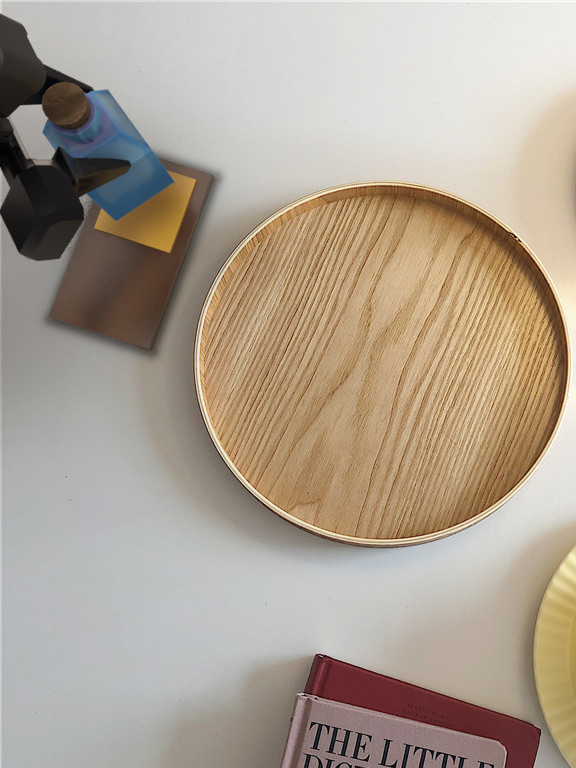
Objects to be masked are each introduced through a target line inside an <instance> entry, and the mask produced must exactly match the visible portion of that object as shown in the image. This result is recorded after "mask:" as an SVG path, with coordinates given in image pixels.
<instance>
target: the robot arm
mask: <svg viewBox="0 0 576 768" xmlns="http://www.w3.org/2000/svg"><path fill="white" fill-rule="evenodd" d="M28 35H29V34H28V31H27V29H26V27H25V26H24V25H23V24H22V22H20V21H17V20H15V19H13V18H11V17H8V16H7V15H4V14H2V13H0V171H1V172H2V174H3V175H2V176H3V177H4V178H5V180H6V182H7V185H8V188H9V189H8V192H7V194H6V195H5V198H4V199H3V201H2V203H1V206H0V217H1V219H2V221H3V223H4V225H5V227H6V229H7V231H8V234H9V235H10V238H11V240H12V242H13V244H14V246H15V248H16V250H17V252H18V254H20V255H21V256H23V257H24V258H26V259H28V260H30V261H34V262H44V261H54V260H60V259H61V257H62V256H63V254H64V253H65V251H66V250H67V248H68V247H69V244H70V243H71V241H72V240H73V238H74V237H75V236H76V234H77V232H78V231H79V229H80V228H81V226H82V224H84V222H85V207H84V204H83V203H82V201H81V200H80V198H81V197H84V196H85V195H87V193H88V192H91V191H92V190H94V189H96V188H98V187H100V186H102V185H104V184H106V183H108V182H110V181H112V180H114V179H116V178H118V177H120V176H121V175H123V174H125V173H127V172H128V171H129V169H130V168H131V166H132V165H131V163H130V161H128V160H122V159H115V158H73V157H71V156H70V155H69V154H68V153H67V152H66V151H65V150H64V149H63V148H61V147H59V146H58V148H57V149H56V151H55V150H54V153H53V155H52V157H51V159H37V158H33V157H30V155H29V153H28V151H27V149H26V147H25V145H24V143H23V140H22V139H21V137H20V135H19V132H18V131H17V128H16V125H15V124H14V122H13V121H12V118H11V115H12V114H13V113H15V111H16V110H17V109H18V108H19V107H20V106H39V105H41V106H42V99H43V96H44V94H45V92H46V91H47V90H48V89H49V88H50V87H51V86H53V85H55V84H57V83H61V82H68V83H73V84H75V85H77V86H79V87H80V88H81V89H82V90H83V92H84V93H86V94H88V93H89V92H91V91H95V89H94V87H93V86H91V85H88V84H87V83H85V82H82V81H81V80H78V79H77V78H74V77H72V76H70V75H68V74H65V73H64V72H61V71H59V70H57V69H55V68H53V67H51V66H48V65H47V64H45V63H43V61H42V60H41V59H40V58H39V57H38V55H37V53H36V52H35V50H34V47H33V45H32V44H31V41H30V39H29V37H28Z"/></svg>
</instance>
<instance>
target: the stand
mask: <svg viewBox="0 0 576 768" xmlns="http://www.w3.org/2000/svg"><path fill="white" fill-rule="evenodd" d="M157 158H158V159H159V161H160V162H161V163H162V165H163V166H164V168H165V169H166V170H167V172H168V173H169V175H170V176H171V177H172V179H173V180H174V183H173V184H171V185H170V186H168V187H167V188H165V189H164V190H162V191H161V192H159V193H158V194H156V195H155V196H153V197H152V198H150V199H149V200H147V201H146V202H144V203H143V204H141V205H140V206H138V207H137V208H135V209H134V210H132V211H131V212H129V213H128V214H126V215H125V216H124V217H122V218H121V219H119V220H118V221H115V220H114V219H113V218H112V217H111V216H109V215H108V214H107V213H106V212H105V211H104V210H103V209H102V208H101V207H100V206H99V205H98V204H97V203H95V202H94V201H93V200H92V203H91V204H90V206H89V210H88V213H87V215H86V217H85V219H84V222H83V226H82V228H81V231H80V233H79V236H78V239H77V241H76V244H75V247H74V249H73V251H72V255H71V257H70V259H69V262H68V265H67V267H66V270H65V273H64V276H63V278H62V281H61V283H60V285H59V288H58V291H57V294H56V297H55V299H54V301H53V305H52V306H51V309H50V312H49V315H48V318H50V319H52V320H56V321H58V322H62V323H65V324H68V325H70V326H71V325H72V326H75V327H78V328H81V329H84V330H87V331H90V332H93V333H96V334H99V335H102V336H105V337H108V338H110V339H111V338H112V339H115V340H118V341H121V342H124V343H127V344H130V345H134V346H136V347H140V348H142V349H146V350H147V351H148V350H149V351H151V350H152V348H153V345H154V343H155V340H156V338H157V335H158V331H159V330H160V329H159V328H160V326H161V324H162V321H163V318H164V315H165V312H166V309H167V307H168V304H169V301H170V298H171V296H172V293H173V290H174V287H175V285H176V282H177V279H178V276H179V274H180V271H181V270H182V269H181V268H182V265H183V263H184V260H185V257H186V254H187V252H188V248H189V247H190V243H191V241H192V239H193V235H194V232H195V230H196V227H197V225H198V221H199V219H200V216H201V213H202V211H203V208H204V205H205V202H206V200H207V197H208V194H209V191H210V189H211V186H212V184H213V180H214V179H215V178H214V175H213V174H211V173H208V172H205V171H201V170H199V169H195V168H192V167H189V166H187V165H183V164H180V163H177V162H173V161H170V160H168V159H165V158H161V157H158V156H157Z"/></svg>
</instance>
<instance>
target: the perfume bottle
mask: <svg viewBox="0 0 576 768" xmlns="http://www.w3.org/2000/svg"><path fill="white" fill-rule="evenodd" d="M41 110H42V112H43V113H44V116H45V117H46V118H47V119H46V121H45V124H44V125H43V126H44V127H43V129H42V134H43V135H44V137H45V139H46V140H47V142H49V144H50V145H51V147H52V148H53V150H54V152H55V151H56V149H57V148H58V146H59V147H61V148H63V149H64V150H65V151H66V152H67V153H68V154H69V155H70V156H71V157H73V158H115V159H122V160H128V161H130V163H131V165H132V166H131V168H130V169H129V171H128V172H127V173H125V174H123V175H121V176H120V177H118V178H116V179H114V180H112V181H110V182H108V183H106V184H104V185H102V186H100V187H98V188H96V189H94V190H92V191H91V192H88V193H87V194H86V196H87V197H89V198H90V199H91V200H92V202H93V201H94V202H95V203H97V204H98V205H99V206H100V207H101V208H102V209H103V210H104V211H105V212H106V213H107V214H108V215H109V216H111V217H112V218H113V219H114V220H115V221H118V220H119V219H121V218H122V217H124V216H125V215H126V214H128V213H129V212H131V211H132V210H134V209H135V208H137V207H138V206H140V205H141V204H143V203H144V202H146V201H147V200H149V199H150V198H152V197H153V196H155V195H156V194H158V193H159V192H161V191H162V190H164V189H165V188H167V187H168V186H170V185H171V184H173V183H174V180H173V179H172V177H171V176H170V175H169V173H168V172H167V170H166V169H165V168H164V166H163V165H162V163H161V162H160V161H159V159H158V158H159V157H158V156H157V155H156V153H155V152H154V150H153V148H151V146H150V145H149V144H148V142H147V141H146V139H145V137H143V136H142V134H141V133H140V131H139V130H138V129H137V128H136V126H135V125H134V123H133V121H131V119H130V118H129V117H128V115H127V113H126V112H125V111H124V109H123V107H121V105H120V104H119V103H118V101H117V99H115V97H114V96H113V94H112V93H111V92H110V90H109V89H99V90H97V89H96V90H94V91H91V92H89V93H88V94H86V93H84V92H83V90H82V89H81V88H80V87H79V86H77V85H75V84H73V83H68V82H61V83H57V84H55V85H53V86H51V87H50V88H49V89H48V90H47V91H46V92H45V94H44V96H43V99H42V105H41ZM157 157H158V158H157Z"/></svg>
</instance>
